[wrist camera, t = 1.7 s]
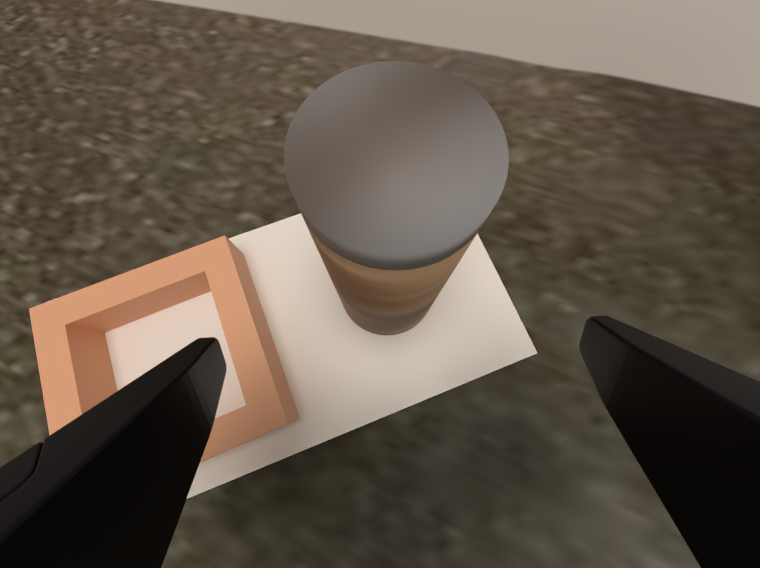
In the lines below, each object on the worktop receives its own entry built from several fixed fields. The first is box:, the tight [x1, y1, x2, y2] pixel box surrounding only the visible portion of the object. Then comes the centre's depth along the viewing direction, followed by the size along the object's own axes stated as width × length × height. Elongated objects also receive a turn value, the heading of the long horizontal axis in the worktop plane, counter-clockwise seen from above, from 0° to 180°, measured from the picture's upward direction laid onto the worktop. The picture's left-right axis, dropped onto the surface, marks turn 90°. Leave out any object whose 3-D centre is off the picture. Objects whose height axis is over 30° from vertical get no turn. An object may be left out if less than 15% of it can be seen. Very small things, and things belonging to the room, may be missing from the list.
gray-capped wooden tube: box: [284, 61, 509, 335], centre depth 14 cm, size 5×5×12 cm
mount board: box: [48, 214, 537, 499], centre depth 20 cm, size 23×12×1 cm, turn 111°
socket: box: [29, 236, 300, 462], centre depth 17 cm, size 9×9×2 cm
